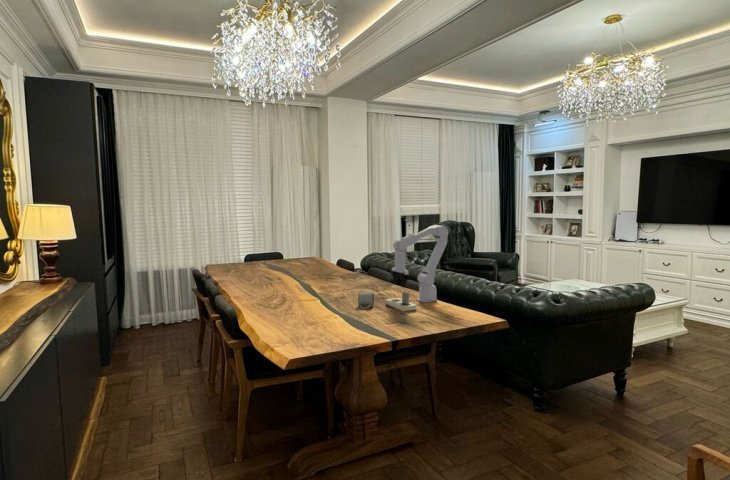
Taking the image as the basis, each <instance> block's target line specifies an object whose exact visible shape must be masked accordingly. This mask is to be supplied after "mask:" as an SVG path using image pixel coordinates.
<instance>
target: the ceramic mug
mask: <svg viewBox="0 0 730 480" xmlns="http://www.w3.org/2000/svg"><path fill="white" fill-rule="evenodd" d="M374 295H375V294H374V292H361V293H358V296H357V302H358V306H359V308H360V309H362V310H369V308H373V307H374V306H375V296H374Z"/></svg>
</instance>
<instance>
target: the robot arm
mask: <svg viewBox="0 0 730 480" xmlns="http://www.w3.org/2000/svg"><path fill="white" fill-rule="evenodd" d="M449 233H450V232H449V230H448V227H447V226H445V225H438V224H433V225H430V226H428V227H427V228H424V229H423V230H421V231H419V232H417V233H408V235H407V236H404V237H403V236H402V237H400V239H399V238H398V239H395V241H394V242H393V244H392V246H393V248H394V267H391V271H390V275H391V277H392V280H393V284H394V285H399V282H400V285H401V288H405V287H406V285H407V282H408V279H409V278H410V276H411V275H410V274H409V270H407V269H406V250H407V249H408V248H409V247H411V246H413V245H415V244H417V243H418V241H419V240H420V239H423V238H425V237H428V236H430V235H431V236H433V238H434V239H435V241H436V244H435V245H434V246H435V247H434V248H433V250H432V253H431V254H430V257H429V259H428V261H427V264H426V266H425V267H424V268H422V270H421V271H420V273H419V274H417V282H418V283H419V284H418V287H419V289H418V293H419V294H418V298H416V299H415V300H416V301H419V302H422V303H430V302H437V301H438V299H437V291H438V290H437V286H436V285H434V283H435V277H436V272H435V271H436V269H437V266H438V265H439V263H440V260H441V257H442V256H443V253H444V252H445V249H446V247H447V244H448V236H449Z"/></svg>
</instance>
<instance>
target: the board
mask: <svg viewBox="0 0 730 480" xmlns="http://www.w3.org/2000/svg"><path fill="white" fill-rule="evenodd" d="M385 305H386V306H388V307H389V308H392V309H394V310H397V311H398V312H400V313H403V314H404V313H411V312H416V311H417V305H416V304H415V303H412V302H410V301H409V305H405V306H403V305H402V298H399V297H395V298H388V299H387V298H386V299H385Z"/></svg>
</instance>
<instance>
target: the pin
mask: <svg viewBox="0 0 730 480" xmlns="http://www.w3.org/2000/svg"><path fill="white" fill-rule="evenodd" d="M401 299H402V305H403V306H405V305H409V302H410V293H409V292H406V291H405V292H402V293H401Z"/></svg>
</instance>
